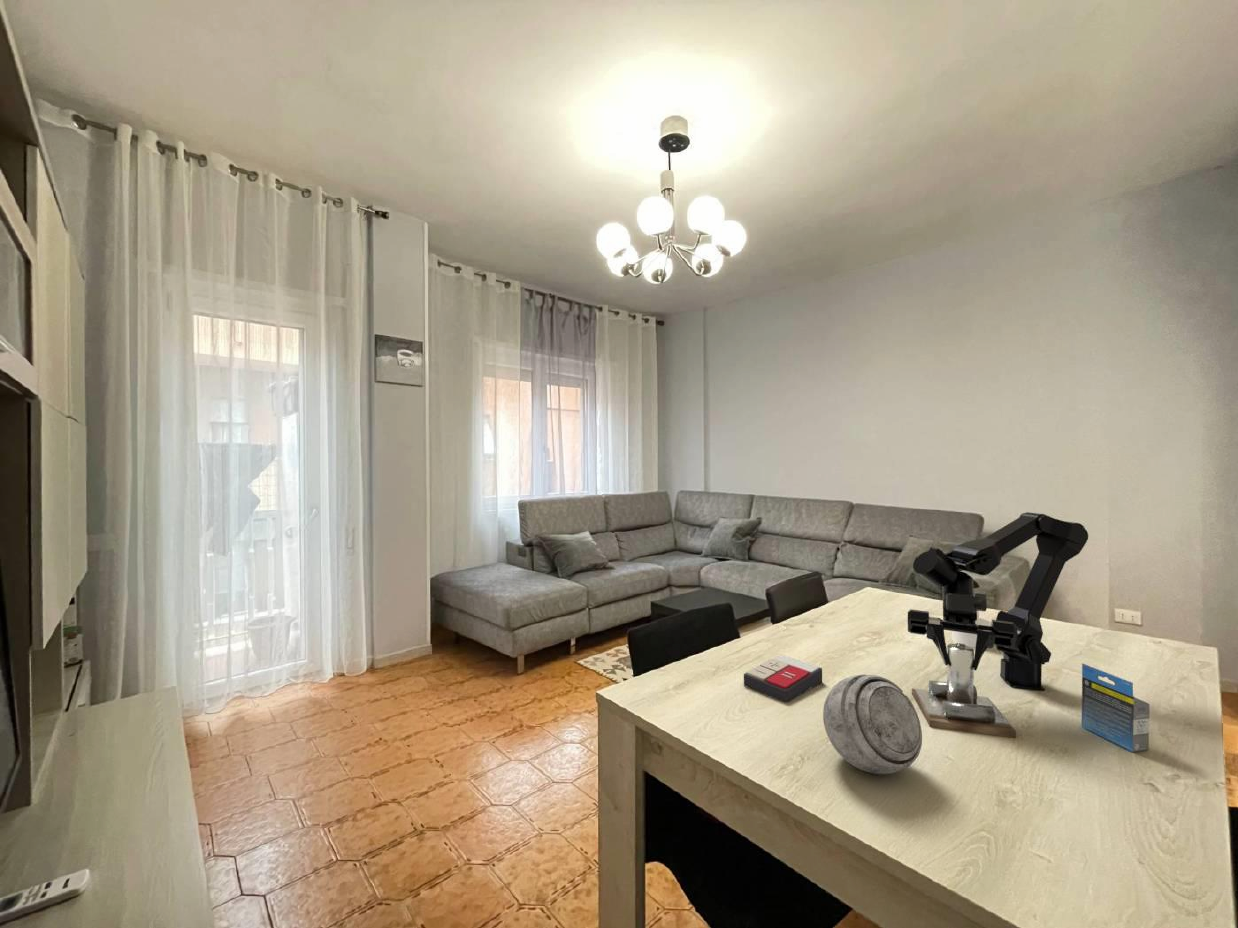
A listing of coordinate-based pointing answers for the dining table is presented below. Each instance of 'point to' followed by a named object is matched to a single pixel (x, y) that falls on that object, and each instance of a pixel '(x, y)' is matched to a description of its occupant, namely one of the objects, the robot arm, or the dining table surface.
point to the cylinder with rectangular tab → (967, 637)
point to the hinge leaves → (960, 706)
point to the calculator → (783, 677)
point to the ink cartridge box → (1114, 710)
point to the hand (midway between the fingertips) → (960, 666)
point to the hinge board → (964, 722)
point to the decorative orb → (872, 724)
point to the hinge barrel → (960, 673)
